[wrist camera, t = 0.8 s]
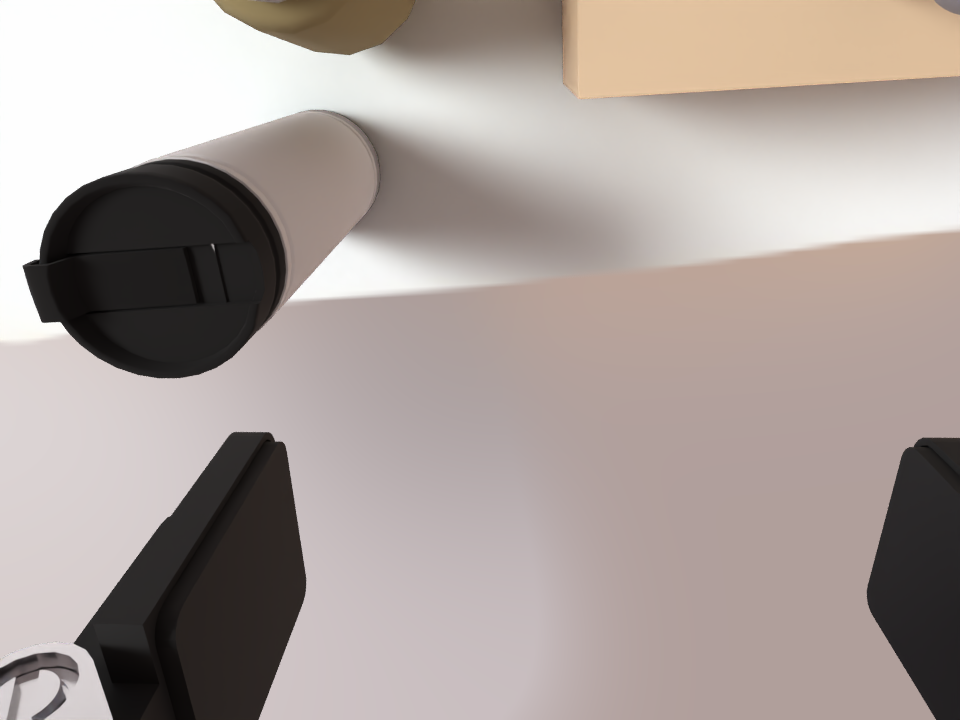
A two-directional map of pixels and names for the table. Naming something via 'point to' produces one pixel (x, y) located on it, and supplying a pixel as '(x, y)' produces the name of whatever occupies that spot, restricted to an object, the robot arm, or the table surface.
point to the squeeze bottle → (323, 21)
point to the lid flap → (760, 44)
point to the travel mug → (202, 242)
